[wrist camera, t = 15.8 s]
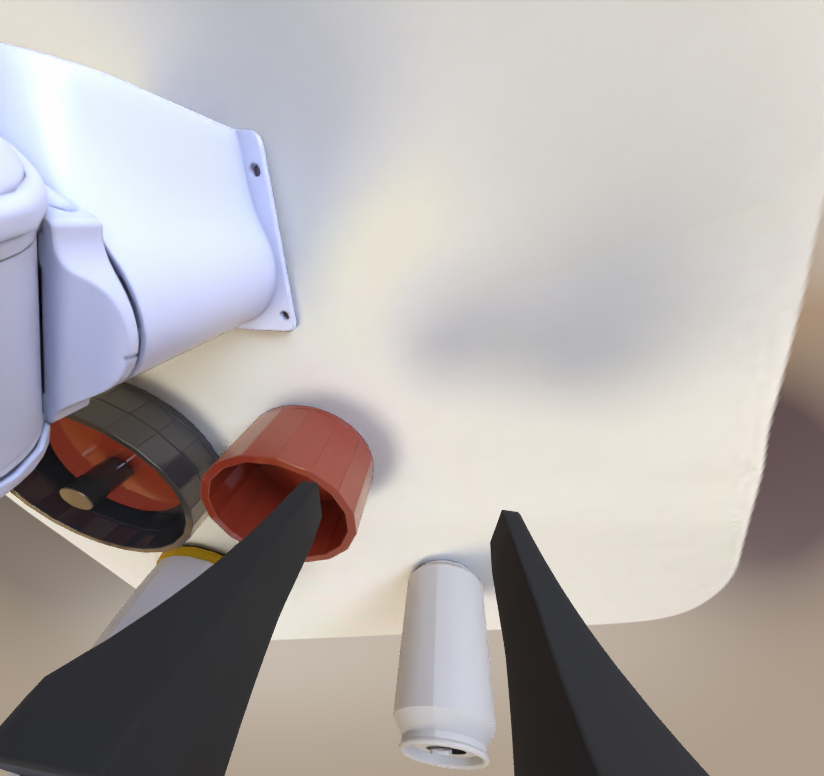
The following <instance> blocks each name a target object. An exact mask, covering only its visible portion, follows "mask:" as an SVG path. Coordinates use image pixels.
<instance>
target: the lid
mask: <svg viewBox="0 0 824 776" xmlns="http://www.w3.org/2000/svg"><path fill="white" fill-rule="evenodd" d="M50 443H51V446H52V448H53V450H54V452H55V454H56V455H57V457H58V458H59V460H60V461H61V462H62V464H63V465H64V466H65V467H66V468H67V469H68V470H69V471H70V472H71V473H72V474H73V475H74V476H75V477H76V479H74V480H73V481H72V482H70V483H69V484H67V485H66V486H64V487H63V488H61V489H60V491H59V493H60V495H61V497H62V498H63V499H64V500H65V501H66V502H67V503H69V504H71V505H72V506H74V507H77V508H80V509H84V510H89V509H92V508H93V507H94V506H96V505H97V504H98V503H99V502H101V501H102V500H103V499H104V498H106V497H107V498H109V499H111V500H113V501H115V502H118V503H120V504H123V505H126V506H129V507H132V508H136V509H141V510H147V511H164V510H169V509H172V508H174V507H176V506H177V505H179V504H180V502H179V500H178V498H177V496H176V494H175V493H174V491H173V490H172V489H171V487H170V486H169V485H168V484H167V483H166V482H165V481H164V479H163V478H162V477H161V476H160V475H159V474H158V473H157V472H156V471H155V470H154V469H153V468H152V467H150V466H149V465H148V464H147V463H146V462H144V461H143V460H142V459H141V458H139V457H138V456H137V455H136V454H135V453H133V452H132V451H130V450H129V449H127V448H126V447H124V446H122V445H121V444H119V443H117V442H116V441H114V440H113V439H111V438H109V437H108V436H106V435H104V434H103V433H101V432H98V431H96V430H94V429H92V428H90V427H87V426H85V425H83V424H81V423H78V422H76V421H74V420H72V419H69V418H65V417H63V418H61V419H59V420H57V421H55V422H53V423H52V424H51V425H50Z"/></svg>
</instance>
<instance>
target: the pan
mask: <svg viewBox="0 0 824 776" xmlns="http://www.w3.org/2000/svg"><path fill="white" fill-rule="evenodd" d="M65 418H69V419H72V420H74V421H76V422H78V423H81V424H83V425H85V426H87V427H90V428H92V429H94V430H96V431H98V432H101V433H103V434H104V435H106V436H108V437H109V438H111V439H113V440H114V441H116V442H117V443H119V444H121V445H122V446H124V447H126V448H127V449H129V450H130V451H132V452H133V453H135V454H136V455H137V456H138V457H139V458H141V459H142V460H143V461H144V462H146V463H147V464H148V465H149V466H150V467H152V468H153V469H154V470H155V471H156V472H157V473H158V474H159V475H160V476H161V477H162V478H163V479H164V481H165V482H166V483H167V484H168V485H169V486H170V487H171V489H172V490H173V491H174V493H175V494H176V496H177V498H178V500H179V502H180V504H179V505H177V506H176V507H174V508H172V509H169V510H164V511H147V510H141V509H136V508H132V507H129V506H126V505H123V504H120V503H118V502H115V501H113V500H111V499H109V498H107V497H106V498H104V499H103V500H102V501H101V502H99V503H98V504H97V505H96V506H94V507H93V508H92V509H89V510H84V509H80V508H77V507H74V506H72V505H71V504H69V503H67V502H66V501H65V500H64V499H63V498H62V497H61V495H60V493H59V491H60V489H61V488H63V487H64V486H66V485H67V484H69V483H70V482H72V481H73V480H74V479H76V477H75V476H74V475H73V474H72V473H71V472H70V471H69V470H68V469H67V468H66V467H65V466H64V465H63V464H62V462H61V461H60V460H59V458H58V457H57V455H56V454H55V452H54V450H53V448H52V446H51V443H50V440H49V444H48V447H47V449H46V452H45V454H44V456H43V457H42V459H41V460H40V462H39V463H38V464H37V466H36V467H35V469H34V470H33V471H32V472H31V473H30V474H29V475H28V476H27V477H26V478H25V479H24V480H23V481H22V482H21V483H20V484H19V485H17V486H16V487H14V488H13V489H12V490H10V492H11V493H12V494H14V495H15V496H16V497H18V498H19V499H20V500H21V501H23V502H24V503H25V504H26V505H28V506H30V507H31V508H32V509H34V510H35V511H37V512H38V513H40V514H42V515H43V516H45V517H46V518H48V519H49V520H51V521H54V523H56V524H58V525H60V526H62V527H64V528H66V529H68V530H70V531H72V532H74V533H76V534H78V535H81V536H84V537H86V538H89V539H91V540H94V541H97V542H99V543H103V544H105V545H109V546H113V547H117V548H121V549H124V550H130V551H138V552H147V553H148V552H166V551H169V550H172V549H175V548H178V547H180V546H181V545H183V544H184V543H185V542H186V541H187V540H188V539H189V538H190V537H191V536H192V535H193V534H194V532H195V531H196V530H197V529H198V527H199V526H200V525H201V524H202V523H203V521H204V520H205V519H206V518H207V517H208V515H209V514H208V512H207V510H206V508H205V506H204V504H203V502H202V500H201V498H200V489H201V477H202V476H203V474H204V473H205V472H206V471H207V470H208V469H209V468H210V467H211V466H212V465H213V464H214V463H215V462H216V461H217V460H218V459H219V458H218V456H217V454H216V452H215V451H214V449H213V448H212V446H211V444H210V443H209V442H208V441H207V439H206V438H205V437H204V436H203V434H202V433H201V432H200V431H199V430H198V429H197V428H196V427H195V426H194V425H193V424H192V423H191V422H190V421H188V420H187V419H186V418H185V417H184V416H183V415H181V414H180V413H179V412H177V411H176V410H175V409H173V408H172V407H171V406H169V405H168V404H166V403H165V402H163V401H162V400H160V399H158V398H157V397H155V396H153V395H151V394H149V393H147V392H146V391H144V390H142V389H139V388H137V387H135V386H132V385H130V384H128V383H125V382H123V383H121V384H118V385H116V386H115V387H113V388H111V389H109V390H107V391H105V392H103V393H100V394H98V395H96V396H94V397H91V398H90V401H89V404H88V405H87V406H85V407H83V408H81V409H79V410H77V411H75V412H73V413H71V414H69V415H67V416H65ZM51 424H52V423H50V425H51Z"/></svg>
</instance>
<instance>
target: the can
mask: <svg viewBox="0 0 824 776" xmlns="http://www.w3.org/2000/svg"><path fill="white" fill-rule="evenodd" d="M393 716H394V719H395V721H396V723H397V726H398V728H399V730H400V733H401V735H402V739H401V742H400V744H399V748H400V751H401V753H403V754H404V755H405V756H407V757H409V758H412V759H414V760H416V761H419V762H422V763H426V764H430V765H434V766H439V767H445V768H452V769H479V768H484V767H485V766H487V765H488V764H489V757H488V755H487V752H486V749H487V747H488V745H489V744H490V742H491V740H492V738H493V736H494V734H495V730H496V725H495V714H494V704H493V693H492V682H491V673H490V661H489V651H488V640H487V629H486V619H485V608H484V598H483V587H482V584H481V582H480V580H479V578H477V577H476V576H475V575H474V574H473V573H472V572H471V571H470V570H469V569H468V568H467V567H465V566H463V565H461V564H459V563H456V562H452V561H445V560H437V561H430V562H427V563H425V564H423V565H422V566H420V567H419V568H418V569H417V570H415V571H414V572H413V573H412V574H411V575H410V577H409V580H408V587H407V596H406V605H405V614H404V623H403V632H402V640H401V650H400V658H399V668H398V676H397V685H396V694H395V704H394V712H393Z"/></svg>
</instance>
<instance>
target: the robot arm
mask: <svg viewBox="0 0 824 776" xmlns="http://www.w3.org/2000/svg"><path fill="white" fill-rule="evenodd" d="M256 165H258V166H259V168H260V175H259V176H258V177H257V176H256V174H255V172H254V168H255V166H256ZM283 312H286V313H287V314H288V315H289V318H286V317H285V316H284V314H283ZM296 326H297V322H296V317H295V311H294V306H293V300H292V295H291V290H290V284H289V279H288V273H287V268H286V262H285V257H284V252H283V246H282V241H281V235H280V230H279V224H278V219H277V214H276V208H275V203H274V197H273V192H272V186H271V181H270V176H269V170H268V165H267V159H266V154H265V148H264V144H263V141H262V139H261V137H260V136H259V135H258V134H257V133H256V132H254V131H252V130H248V129H232V128H230V127H227V126H225V125H223V124H221V123H218V122H216V121H214V120H212V119H209V118H207V117H205V116H202V115H200V114H198V113H196V112H193V111H191V110H189V109H187V108H184V107H182V106H180V105H177V104H175V103H173V102H171V101H168V100H166V99H164V98H162V97H159V96H157V95H155V94H152V93H150V92H148V91H146V90H143V89H141V88H139V87H137V86H134V85H132V84H130V83H127V82H125V81H123V80H121V79H118V78H116V77H113V76H111V75H108V74H106V73H103V72H100V71H98V70H95V69H92V68H89V67H86V66H83V65H80V64H77V63H74V62H71V61H67V60H64V59H61V58H58V57H54V56H51V55H47V54H44V53H40V52H36V51H32V50H29V49H25V48H21V47H17V46H13V45H9V44H5V43H1V42H0V498H1V497H2V496H4V495H5V494H6V493H8V492H9V491H10V490H12V489H13V488H14V487H16V486H17V485H19V484H20V483H21V482H22V481H23V480H24V479H25V478H26V477H27V476H28V475H29V474H30V473H31V472H32V471H33V470H34V469H35V467H36V466H37V464H38V463H39V462H40V460H41V459H42V457H43V456H44V454H45V452H46V449H47V447H48V444H49V440H50V423H53V422H55V421H57V420H59V419H61V418H63V417H65V416H67V415H69V414H71V413H73V412H75V411H77V410H79V409H81V408H83V407H85V406H87V405H88V404H89V401H90V398H91V397H94V396H96V395H98V394H100V393H103V392H105V391H107V390H109V389H111V388H113V387H115V386H116V385H118V384H121V383H123V382H125V381H127V380H129V379H131V378H133V377H135V376H137V375H139V374H141V373H143V372H145V371H148V370H150V369H152V368H154V367H156V366H158V365H160V364H162V363H164V362H166V361H168V360H170V359H172V358H174V357H176V356H178V355H180V354H182V353H184V352H186V351H188V350H191V349H193V348H195V347H197V346H199V345H201V344H203V343H205V342H207V341H209V340H211V339H213V338H215V337H217V336H219V335H221V334H223V333H225V332H227V331H229V330H231V329H248V330H267V331H285V332H289V331H292V330H293V329H295V328H296ZM321 518H322V513H321V505H320V496H319V487H318V483H314V482H307V481H302V482H301V483H300V484H299V485H298V486H297V487H296V488H295V489H294V490H293V491H292V492H291V493H290V494H289V495H288V496H287V497H286V498H285V499H284V500H283V501H282V502H281V503H280V504H279V505H278V506H277V507H276V508H275V509H274V510H273V511H272V512H271V513H270V514H269V515H268V516H267V517H266V518H265V519H264V520H263V521H262V522H261V523H260V524H259V525H258V526H257V527H256V528H255V529H254V530H253V531H251V532H250V533H249V534H248V535H247V536H246V537H245V538H244V539H243V540H241V541H240V542H239V543H238V544H237V545H236V546H235V547H234V548H232V549H231V550H230V551H229V552H228V553H227V554H225V555H224V556H223V557H222V558H221V559H219V560H218V561H217V562H216V563H215V564H213V565H212V566H211V567H210V568H208V569H207V570H206V571H204V572H203V573H202V574H201V575H199V576H198V577H197V578H195V579H194V580H193V581H191V582H190V583H189V584H187V585H186V586H185V587H183V588H182V589H181V590H179V591H178V592H177V593H175V594H174V595H173V596H171V597H170V598H168V599H167V600H165V601H164V602H163V603H161V604H160V605H158V606H157V607H155V608H154V609H152V610H151V611H149V612H148V613H146V614H145V615H143V616H142V617H140V618H139V619H137V620H136V621H134V622H133V623H131V624H130V625H128V626H127V627H125V628H124V629H122V630H121V631H119V632H118V633H116V634H115V635H113V636H112V637H110V638H108V639H107V640H105V641H104V642H102V643H100V644H99V645H97V646H95V647H94V648H92V649H90V650H89V651H87V652H85V653H84V654H82V655H81V656H79V657H77V658H76V659H74V660H72V661H71V662H69V663H67V664H66V665H64V666H62V667H61V668H59V669H57V670H56V671H54V672H52V673H50V674H49V675H47V676H46V677H44V678H43V679H42V680H41V682H39V684H38V685H37V686H36V687H35V688H34V689H33V690H32V691H31V692H30V693H29V694H28V695H27V696H26V698H25V699H24V700H23V701H22V702H21V703H20V704H19V705H18V706H17V708H16V709H15V710H14V711H13V712H12V713H11V714H10V715H9V717H8V718H7V719H6V720H5V721H4V722H3V724H1V726H0V769H3V770H6V771H9V772H12V773H15V774H18V775H20V776H224V775H225V772H226V769H227V766H228V763H229V759H230V756H231V753H232V750H233V747H234V744H235V741H236V738H237V734H238V731H239V728H240V725H241V722H242V719H243V716H244V713H245V710H246V708H247V704H248V702H249V699H250V695H251V693H252V689H253V687H254V684H255V681H256V678H257V676H258V672H259V670H260V667H261V664H262V662H263V658H264V656H265V653H266V650H267V648H268V645H269V642H270V640H271V637H272V634H273V632H274V629H275V626H276V624H277V621H278V618H279V616H280V614H281V611H282V609H283V607H284V604H285V602H286V600H287V598H288V596H289V594H290V591H291V589H292V587H293V585H294V583H295V581H296V579H297V576H298V574H299V572H300V570H301V568H302V566H303V564H304V561H305V559H306V557H307V555H308V553H309V551H310V548H311V546H312V544H313V541H314V538H315V535H316V533H317V530H318V527H319V524H320V521H321ZM490 545H491V562H492V574H493V580H494V586H495V593H496V599H497V605H498V611H499V617H500V623H501V629H502V634H503V641H504V647H505V654H506V664H507V675H508V687H509V699H510V713H511V725H512V741H513V758H514V774H515V776H709V775H708V774H707V772H706V771H705V770H704V769H703V768H702V767H701V766H700V765H699V764H698V762H697V761H696V760H695V759H694V758H693V757H692V756H691V755H690V754H689V752H688V751H687V750H686V749H685V748H684V747H683V746H682V745H681V743H680V742H679V741H678V740H677V739H676V738H675V736H674V735H673V734H672V733H671V732H670V731H669V729H668V728H667V727H666V726H665V725H664V724H663V723H662V721H661V720H660V719H659V718H658V717H657V716H656V714H655V713H654V712H653V711H652V709H651V708H650V707H649V706H648V705H647V703H646V702H645V701H644V700H643V699H642V697H641V696H640V695H639V694H638V692H637V691H636V690H635V689H634V687H633V686H632V685H631V684H630V682H629V681H628V680H627V679H626V678H625V676H624V675H623V674H622V673H621V671H620V670H619V669H618V668H617V666H616V665H615V664H614V662H613V661H612V660H611V659H610V657H609V656H608V654H607V653H606V652H605V650H604V649H603V648H602V646H601V645H600V644H599V642H598V641H597V639H596V638H595V637H594V635H593V634H592V633H591V631H590V630H589V629H588V627H587V626H586V624H585V623H584V621H583V620H582V618H581V617H580V615H579V614H578V612H577V611H576V609H575V608H574V606H573V605H572V603H571V602H570V600H569V599H568V597H567V596H566V594H565V593H564V591H563V589H562V588H561V586H560V585H559V583H558V581H557V580H556V578H555V576H554V575H553V573H552V571H551V570H550V568H549V566H548V565H547V563H546V561H545V560H544V558H543V556H542V554H541V553H540V551H539V549H538V547H537V545H536V544H535V542H534V540H533V538H532V536H531V534H530V533H529V531H528V529H527V527H526V525H525V523H524V521H523V519H522V517H521V515H520V514H519V513H518V512H513V511H506V510H502V511H501V514H500V517H499V520H498V522H497V525H496V528H495V531H494V534H493V536H492V539H491V542H490Z"/></svg>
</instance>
